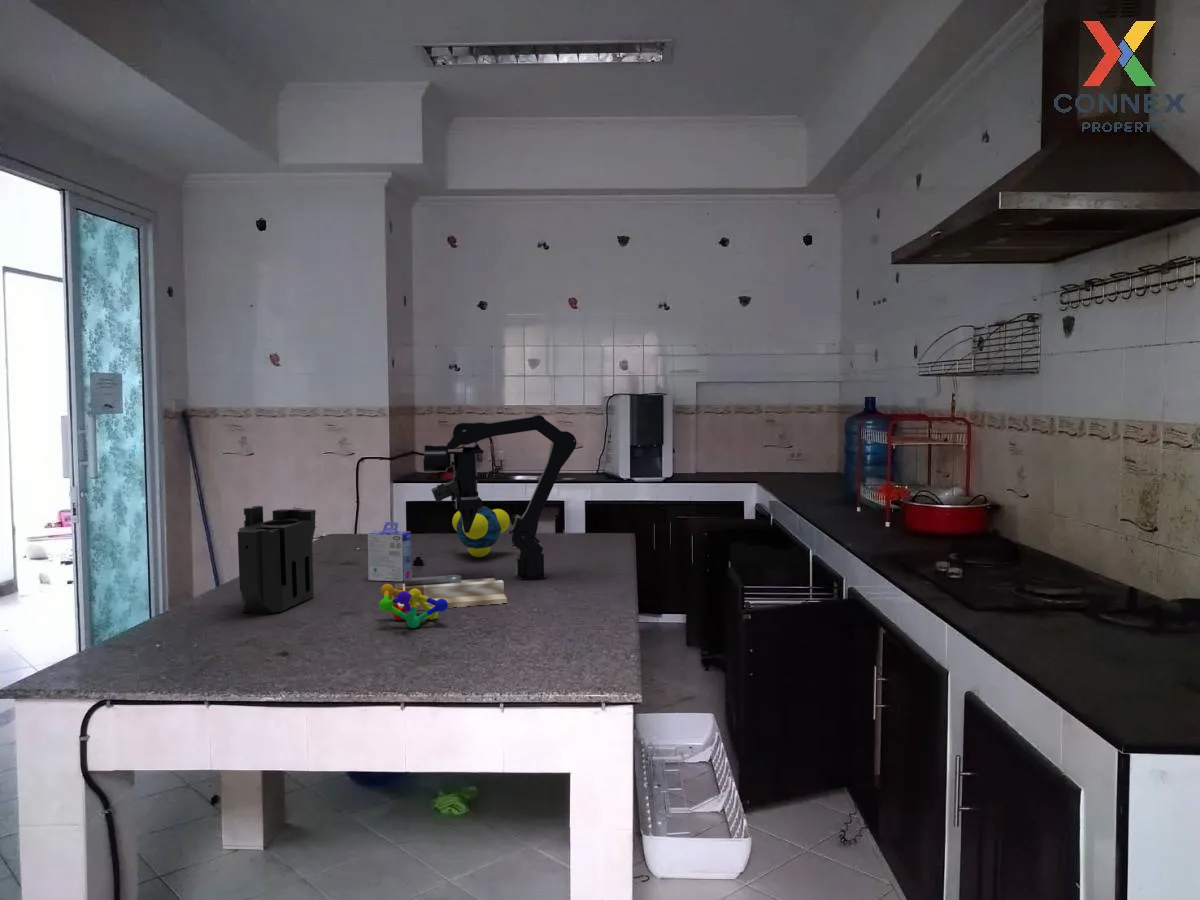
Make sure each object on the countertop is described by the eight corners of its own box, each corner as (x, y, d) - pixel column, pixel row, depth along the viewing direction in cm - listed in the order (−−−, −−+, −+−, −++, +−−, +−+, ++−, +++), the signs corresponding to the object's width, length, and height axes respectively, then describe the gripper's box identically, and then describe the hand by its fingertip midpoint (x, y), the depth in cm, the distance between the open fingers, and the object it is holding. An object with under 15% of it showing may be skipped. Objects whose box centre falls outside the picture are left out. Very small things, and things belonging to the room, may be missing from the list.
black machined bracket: (320, 595, 198) (317, 502, 197) (270, 618, 178) (266, 515, 176) (274, 593, 200) (271, 502, 199) (220, 616, 180) (216, 514, 179)
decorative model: (434, 592, 183) (454, 588, 170) (428, 633, 181) (447, 632, 168) (375, 583, 178) (390, 578, 165) (367, 624, 176) (382, 623, 162)
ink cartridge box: (413, 577, 217) (411, 522, 216) (404, 582, 211) (402, 525, 210) (377, 576, 219) (376, 521, 218) (367, 581, 213) (366, 524, 212)
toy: (505, 563, 233) (504, 510, 232) (444, 564, 234) (443, 510, 233) (511, 552, 249) (511, 502, 248) (455, 553, 250) (454, 503, 249)
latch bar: (460, 587, 197) (460, 574, 197) (462, 590, 194) (462, 577, 194) (404, 590, 194) (404, 578, 194) (405, 594, 191) (405, 581, 190)
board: (494, 582, 210) (494, 567, 209) (507, 603, 188) (506, 587, 188) (395, 589, 204) (395, 573, 203) (397, 611, 182) (396, 594, 182)
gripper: (430, 469, 219) (432, 528, 220) (435, 475, 201) (436, 540, 202) (473, 467, 222) (474, 526, 223) (482, 474, 204) (483, 538, 205)
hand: (466, 532), depth 213 cm, fingers closed
